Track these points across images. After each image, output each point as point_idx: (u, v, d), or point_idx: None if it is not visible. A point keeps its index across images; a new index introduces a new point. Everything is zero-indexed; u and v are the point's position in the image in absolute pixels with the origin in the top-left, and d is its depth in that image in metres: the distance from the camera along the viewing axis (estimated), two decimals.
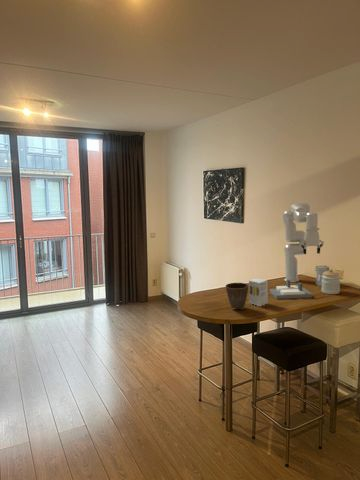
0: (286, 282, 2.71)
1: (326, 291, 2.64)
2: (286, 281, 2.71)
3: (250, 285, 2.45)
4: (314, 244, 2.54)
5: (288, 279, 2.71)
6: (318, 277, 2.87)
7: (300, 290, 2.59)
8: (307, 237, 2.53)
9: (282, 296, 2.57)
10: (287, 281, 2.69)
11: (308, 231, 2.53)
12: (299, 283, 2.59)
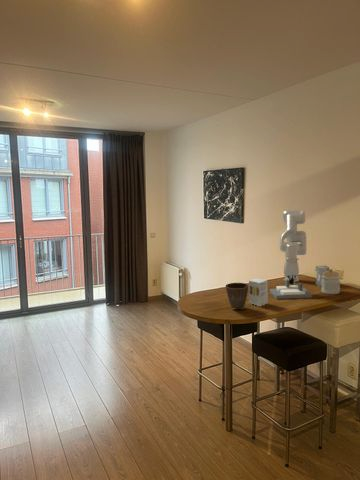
0: (285, 282, 2.71)
1: (326, 291, 2.64)
2: (285, 281, 2.71)
3: (250, 285, 2.45)
4: (293, 274, 2.67)
5: (287, 279, 2.71)
6: (318, 277, 2.87)
7: (300, 290, 2.59)
8: (287, 267, 2.66)
9: (282, 296, 2.57)
10: (286, 281, 2.68)
11: (288, 261, 2.66)
12: (299, 283, 2.59)
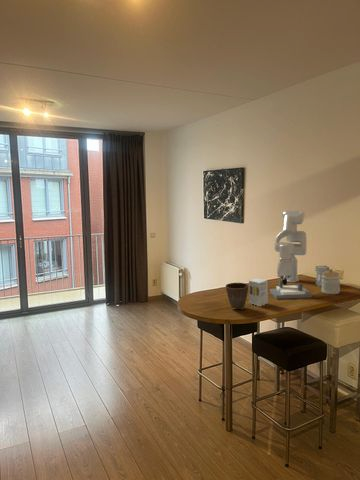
0: None
1: (326, 291, 2.64)
2: None
3: (250, 285, 2.45)
4: (287, 274, 2.67)
5: None
6: (318, 277, 2.87)
7: (300, 290, 2.59)
8: (280, 267, 2.66)
9: (282, 296, 2.57)
10: (279, 281, 2.68)
11: (281, 262, 2.66)
12: (299, 283, 2.59)
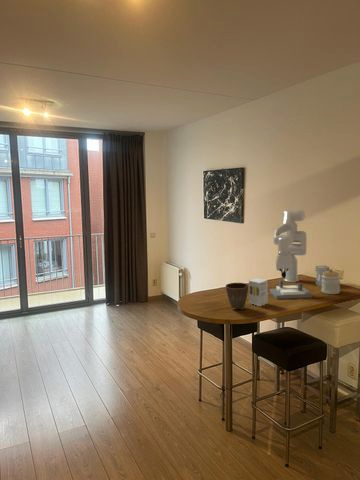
0: (279, 282, 2.71)
1: (326, 291, 2.64)
2: (279, 281, 2.71)
3: (250, 285, 2.45)
4: (286, 267, 2.67)
5: None
6: (318, 277, 2.87)
7: (300, 290, 2.59)
8: (279, 260, 2.66)
9: (282, 296, 2.57)
10: (280, 281, 2.68)
11: (280, 255, 2.65)
12: (299, 283, 2.59)
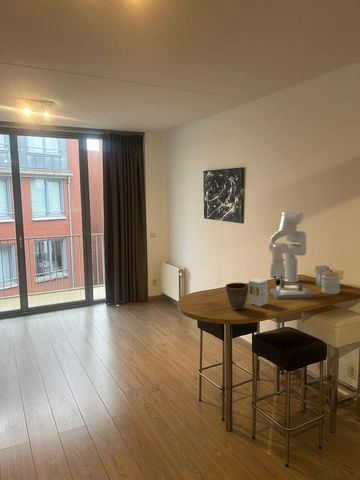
0: (280, 282, 2.71)
1: (326, 291, 2.64)
2: (280, 281, 2.71)
3: (250, 285, 2.45)
4: (280, 274, 2.67)
5: None
6: (318, 277, 2.87)
7: (300, 290, 2.59)
8: (273, 268, 2.66)
9: (282, 296, 2.57)
10: (281, 281, 2.68)
11: (274, 262, 2.66)
12: (299, 283, 2.59)
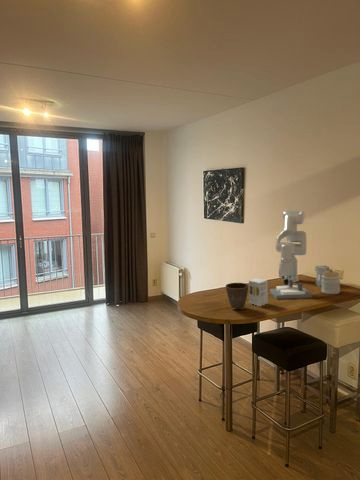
0: (288, 282, 2.71)
1: (326, 291, 2.64)
2: (288, 281, 2.71)
3: (250, 285, 2.45)
4: (288, 274, 2.67)
5: (290, 279, 2.71)
6: (318, 277, 2.87)
7: (300, 290, 2.59)
8: (281, 267, 2.66)
9: (282, 296, 2.57)
10: (289, 281, 2.69)
11: (282, 262, 2.66)
12: (299, 283, 2.59)
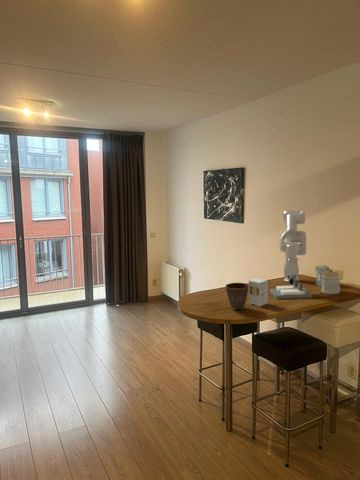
0: (294, 282, 2.71)
1: (326, 291, 2.64)
2: (294, 281, 2.71)
3: (250, 285, 2.45)
4: (293, 274, 2.67)
5: (296, 279, 2.71)
6: (318, 277, 2.87)
7: (300, 290, 2.59)
8: (287, 267, 2.66)
9: (282, 296, 2.57)
10: (295, 281, 2.69)
11: (288, 261, 2.66)
12: (299, 283, 2.59)
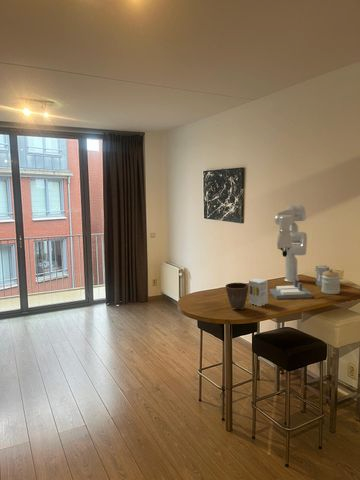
0: (293, 282, 2.71)
1: (326, 291, 2.64)
2: (293, 281, 2.71)
3: (250, 285, 2.45)
4: (287, 246, 2.69)
5: (295, 279, 2.71)
6: (318, 277, 2.87)
7: (300, 290, 2.59)
8: (280, 239, 2.68)
9: (282, 296, 2.57)
10: (294, 281, 2.69)
11: (281, 233, 2.68)
12: (299, 283, 2.59)
